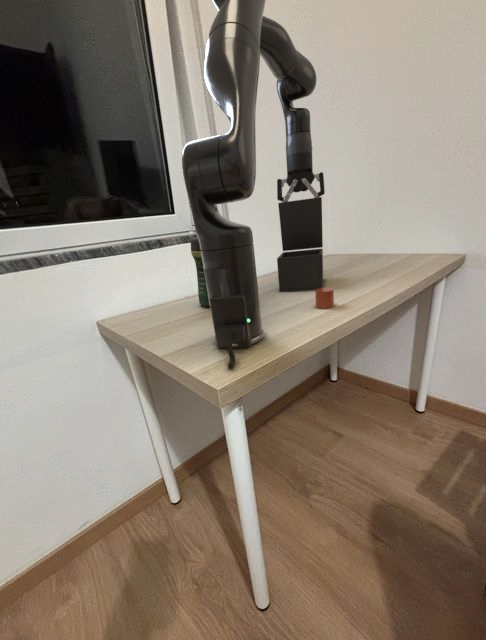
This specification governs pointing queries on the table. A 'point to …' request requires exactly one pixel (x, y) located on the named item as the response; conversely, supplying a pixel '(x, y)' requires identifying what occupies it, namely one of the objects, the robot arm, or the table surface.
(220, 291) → the robot arm
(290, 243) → the lid
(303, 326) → the table surface
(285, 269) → the black open box
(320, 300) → the red cylinder
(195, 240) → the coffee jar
